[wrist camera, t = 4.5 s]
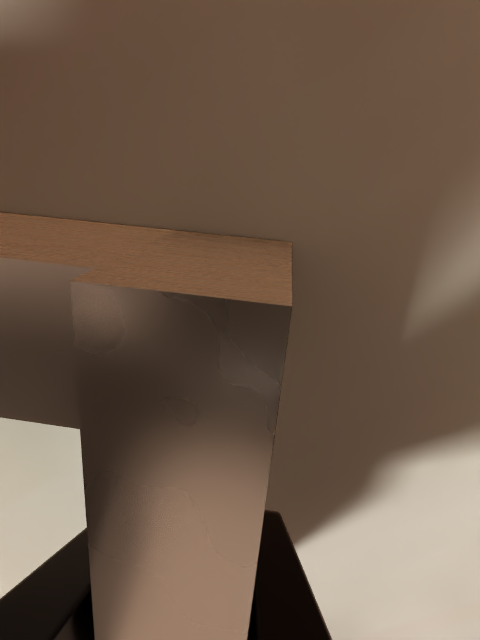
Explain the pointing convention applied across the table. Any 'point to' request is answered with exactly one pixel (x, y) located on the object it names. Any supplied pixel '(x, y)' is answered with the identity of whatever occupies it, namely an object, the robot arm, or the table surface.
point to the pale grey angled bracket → (153, 405)
